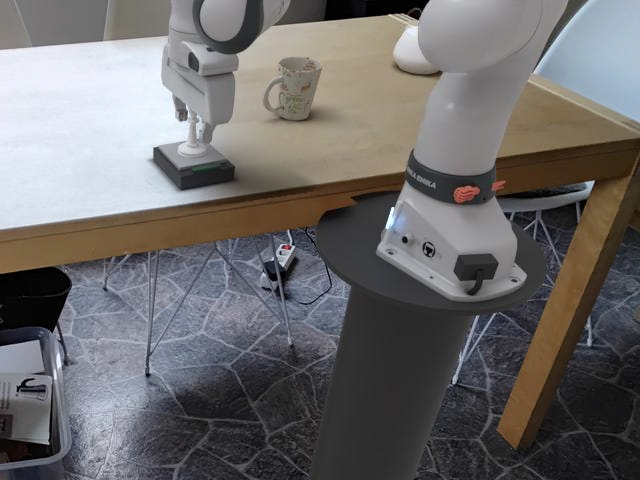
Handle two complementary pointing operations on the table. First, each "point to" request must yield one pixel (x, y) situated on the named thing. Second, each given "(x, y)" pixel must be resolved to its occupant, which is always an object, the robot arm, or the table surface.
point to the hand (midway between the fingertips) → (193, 130)
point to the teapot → (411, 53)
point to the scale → (193, 166)
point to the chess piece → (192, 140)
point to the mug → (294, 87)
